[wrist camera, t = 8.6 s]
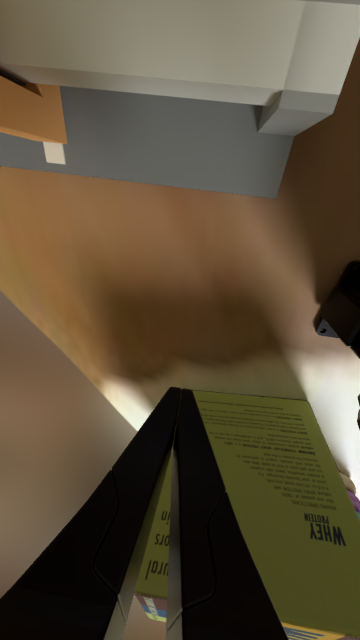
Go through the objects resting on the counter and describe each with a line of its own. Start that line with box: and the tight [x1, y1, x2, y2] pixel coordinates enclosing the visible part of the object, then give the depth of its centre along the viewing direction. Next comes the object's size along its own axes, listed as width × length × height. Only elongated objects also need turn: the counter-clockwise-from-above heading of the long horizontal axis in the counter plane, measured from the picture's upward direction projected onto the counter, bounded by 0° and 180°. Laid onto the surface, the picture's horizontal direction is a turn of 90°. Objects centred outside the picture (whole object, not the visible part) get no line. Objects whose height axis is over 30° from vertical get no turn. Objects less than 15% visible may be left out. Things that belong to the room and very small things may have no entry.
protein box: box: [134, 389, 360, 640], centre depth 21 cm, size 10×15×16 cm
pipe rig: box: [0, 0, 360, 199], centre depth 10 cm, size 20×9×6 cm, turn 85°
